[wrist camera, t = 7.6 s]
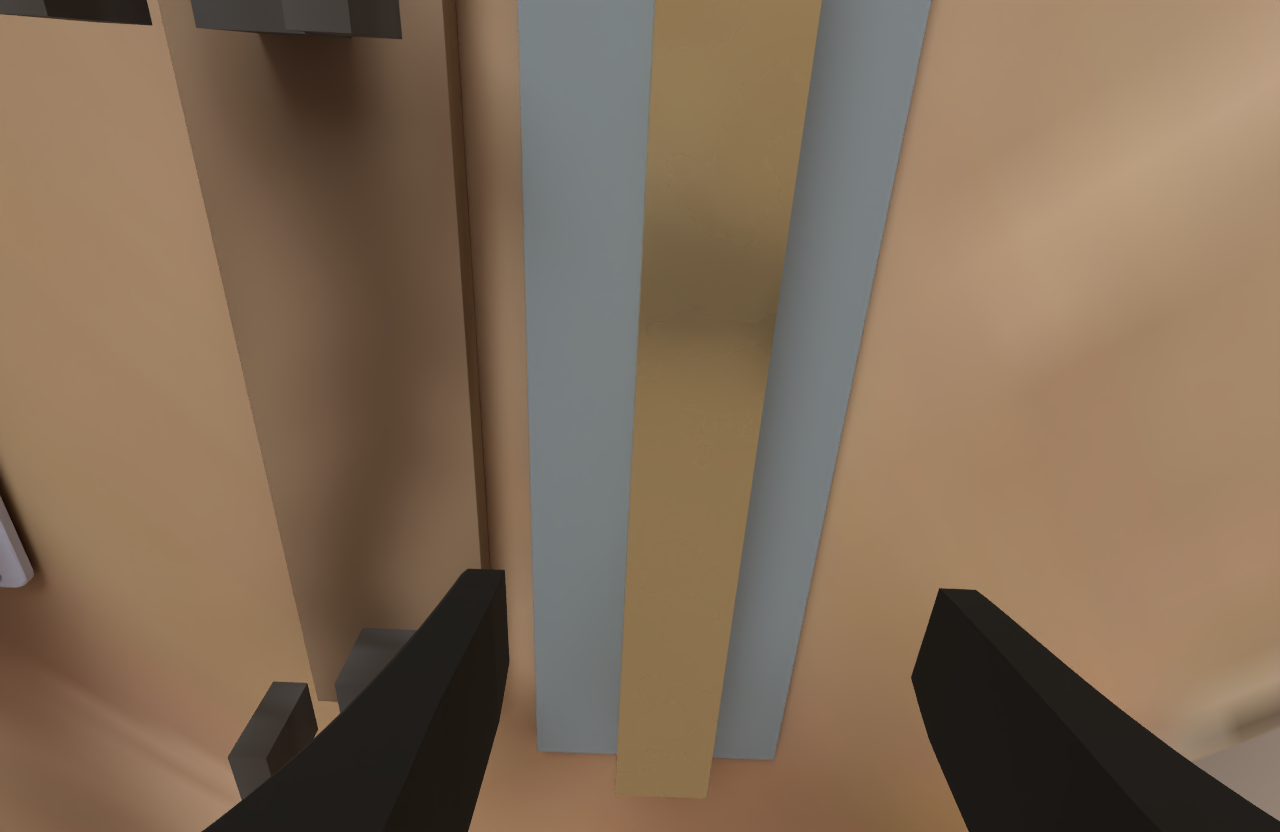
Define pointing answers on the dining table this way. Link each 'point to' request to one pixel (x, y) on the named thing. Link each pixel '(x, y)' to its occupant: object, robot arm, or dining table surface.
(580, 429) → the mat
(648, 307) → the rail
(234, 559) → the dining table surface
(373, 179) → the rail stand
